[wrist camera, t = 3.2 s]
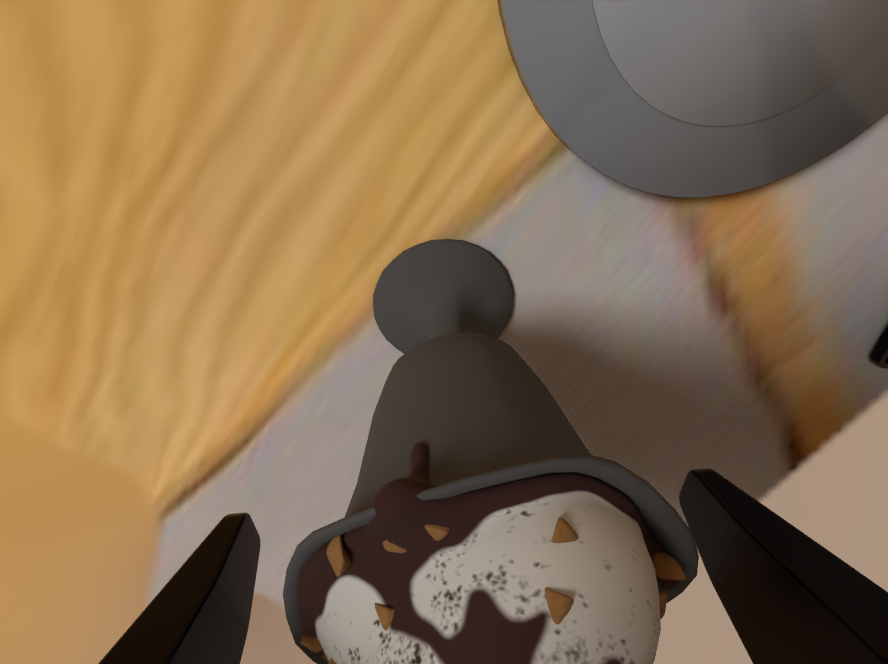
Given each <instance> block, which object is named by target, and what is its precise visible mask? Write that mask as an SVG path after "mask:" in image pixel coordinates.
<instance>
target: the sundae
mask: <svg viewBox="0 0 888 664" xmlns="http://www.w3.org/2000/svg"><path fill="white" fill-rule="evenodd" d="M512 306H513V290H512V285H511V281H510V279H509V277H508V274H507V272H506V270H505V268H504V267H503V266H502V265H501V264H500V262H499V261H498V260H497V259H496V258H495V257H494V256H493V255H491V254H490V253H489V252H488V251H487V250H485V249H483V248H480V247H478V246H476V245H474V244H471V243H468V242H465V241H462V240H449V239H444V240H431V241H428V242H424V243H421V244H418V245H416V246H414V247H411V248H409V249H407V250H405V251H403V252H402V253H401V254H400V255H398V256H397V257H396V258H395V259H394V260H392V262H391V263H390V264H389V265H388V266H387V267H386V268H385V269H384V270H383V272H382V274H381V276H380V278H379V280H378V282H377V285H376V288H375V291H374V294H373V308H374V316H375V320H376V322H377V324H378V326H379V329H380V330H381V332H382V334H383V335H384V337H385V338H386V340H387V341H389V342H390V343H391V344H392V345H393V346H394V347H395V348H397V349H398V350H400V351H401V352H403V353H404V355H403V356H402V357H400V358H399V359H398V360H397V362H396V363H395V364H394V365H393V367H392V370H391V372H390V374H389V376H388V378H387V380H386V382H385V385H384V388H383V390H382V393H381V396H380V398H379V401H378V404H377V406H376V409H375V412H374V415H373V419H372V423H371V427H370V431H369V436H368V440H367V444H366V448H365V452H364V456H363V461H362V465H361V469H360V473H359V477H358V482H357V485H356V488H355V490H354V493H353V496H352V499H351V501H350V504H349V507H348V510H347V512H346V515H345V518H343V519H341V520H338V521H336V522H334V523H331V524H329V525H327V526H325V527H322V528H320V529H318V530H316V531H313V532H312V533H311V534H310V535H309V536H307V537H306V538H305V539H304V540H303V541H302V542H301V543H300V544H299V545H297V547H296V550H295V552H294V554H293V556H292V558H291V560H290V563H289V565H288V568H287V571H286V578H285V584H284V591H283V598H284V605H285V611H286V618H287V621H288V624H289V627H290V630H291V632H292V635H293V638H294V641H295V644H296V645H297V646H298V647H299V648H300V649H302V651H303V652H304V653H305V654H306V655H307V656H308V657H309V658H311V659H312V661H314V662H316V663H317V664H653V662H654V659H655V655H656V650H657V645H658V640H659V635H660V630H661V629H660V628H661V627H660V619H661V618H662V617H663V616H664V614H665V608H666V603H667V602H669V601H671V600H672V599H674V598H675V597H676V596H678V595H679V594H681V593H682V592H683V591H684V590H685V589H686V587H687V586H688V585H689V584H690V583H691V582H692V580H693V579H694V578H695V577H696V576H697V567H698V558H699V556H698V552H697V548H696V544H695V540H694V536H693V533H692V532H691V530H690V529H689V528H688V526H687V525H686V524H685V522H684V521H683V520H682V518H681V517H680V516H679V514H678V513H677V512H676V510H675V509H674V508H673V507H672V506H671V505H670V504H669V503H668V502H667V501H666V500H665V499H664V498H663V497H662V496H661V495H660V494H659V493H658V492H657V491H656V490H655V489H654V488H653V487H652V486H651V485H650V484H649V483H648V482H647V481H646V480H644V479H642V478H641V477H639V476H638V475H636V474H634V473H633V472H631V471H629V470H628V469H626V468H625V467H623V466H621V465H620V464H618V463H617V462H614V461H611V460H607V459H603V458H600V457H596V456H593V455H591V454H590V453H589V452H588V450H587V449H586V447H585V446H584V444H583V443H582V441H581V440H580V438H579V437H578V435H577V433H576V432H575V430H574V429H573V427H572V426H571V424H570V423H569V421H568V420H567V418H566V417H565V415H564V413H563V412H562V410H561V409H560V407H559V406H558V404H557V403H556V401H555V400H554V398H553V397H552V395H551V393H550V392H549V390H548V389H547V387H546V386H545V385H544V384H543V383H542V381H541V380H540V379H539V378H538V377H537V376H536V374H535V373H534V372H533V371H532V370H531V368H530V367H529V366H528V365H527V364H526V363H525V361H524V360H523V359H522V358H521V357H520V356H519V354H518V353H517V352H516V351H515V350H514V349H513V348H512V347H511V346H510V345H508V344H507V343H505V342H504V341H502V340H499V339H497V338H498V337H499V335H500V334H501V333H502V331H503V330H504V328H505V326H506V324H507V322H508V320H509V318H510V316H511V311H512Z"/></svg>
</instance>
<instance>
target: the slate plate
mask: <svg viewBox="0 0 888 664" xmlns="http://www.w3.org/2000/svg"><path fill="white" fill-rule="evenodd" d="M498 6H499V13H500V17H501V21H502V25H503V29H504V33H505V37H506V41H507V45H508V49H509V52H510V54H511V57H512V60H513V62H514V65H515V67H516V70H517V73H518V75H519V78H520V81H521V83H522V85H523V87H524V88H525V90H526V92H527V94H528V96H529V98H530V100H531V101H532V103H533V105H534V107H535V109H536V110H537V112H538V113H539V114H540V116H541V117H542V119H543V120H544V121H545V123H546V124H547V125H548V127H549V128H550V129H551V131H552V132H553V133H554V134H555V135H556V136H557V137H558V138H559V139H560V140H561V141H562V142H563V143H564V144H565V145H566V146H567V147H568V148H569V149H570V150H571V151H572V152H573V153H574V154H575V155H577V156H578V157H580V158H581V159H582V160H584V161H585V162H586V163H588V164H589V165H591V166H592V167H593V168H595V169H596V170H598V171H600V172H601V173H603V174H604V175H606V176H608V177H610V178H612V179H614V180H616V181H618V182H620V183H622V184H624V185H626V186H629V187H632V188H636V189H639V190H642V191H645V192H648V193H652V194H659V195H665V196H672V197H711V196H719V195H726V194H733V193H736V192H740V191H744V190H748V189H752V188H756V187H760V186H763V185H765V184H768V183H771V182H773V181H776V180H779V179H781V178H784V177H787V176H789V175H791V174H793V173H795V172H797V171H799V170H801V169H803V168H805V167H807V166H809V165H811V164H814V163H816V162H818V161H819V160H821V159H823V158H824V157H826V156H827V155H829V154H831V153H832V152H834V151H836V150H837V149H839V148H841V147H842V146H844V145H846V144H847V143H849V142H850V141H851V140H853V139H854V138H855V137H857V136H858V135H860V134H861V133H862V132H864V131H865V130H866V129H868V128H869V127H871V126H872V125H873V124H875V123H876V122H877V121H879V120H880V119H881V118H882V117H883V116H884V115H886V114H887V113H888V0H498Z"/></svg>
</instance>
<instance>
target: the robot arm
mask: <svg viewBox="0 0 888 664" xmlns="http://www.w3.org/2000/svg"><path fill="white" fill-rule="evenodd" d="M870 358H871V361H872V362H874V363H875V364H877V365H878V366H880V367H881V368H888V328H887V330H886V332H885V333H884V335H883V336H882V338H881V340H880V341H879V343H878V345H877V346H876V348H875V350H874V351H873V353H872V355H871V357H870ZM679 501H680V505H681V508H682V511H683V513H684V516H685V518H686V521H687V523H688V526H689V528H690V530H691V532H692V533H693V536H694V540H695V543H696V546H697V548H698V551H699V553H700V556H701V558H702V561H703V563H704V566H705V568H706V571H707V573H708V575H709V577H710V580H711V582H712V584H713V586H714V588H715V590H716V592H717V594H718V596H719V598H720V600H721V602H722V604H723V606H724V608H725V609H726V611H727V613H728V615H729V617H730V619H731V621H732V623H733V625H734V627H735V629H736V631H737V633H738V635H739V637H740V639H741V641H742V643H743V645H744V647H745V648H746V650H747V652H748V654H749V656H750V658H751V660H752V662H753V664H888V592H886V591H885V590H884V589H882V588H881V587H879V586H878V585H876V584H875V583H873V582H872V581H871V580H869V579H868V578H867V577H865V576H863V575H862V574H861V573H859V572H858V571H857V570H855V569H854V568H852V567H851V566H849V565H848V564H847V563H845V562H844V561H842V560H841V559H839V558H838V557H837V556H835V555H834V554H832V553H831V552H829V551H828V550H827V549H825V548H824V547H822V546H821V545H820V544H818V543H817V542H815V541H814V540H812V539H811V538H810V537H808V536H807V535H805V534H804V533H802V532H801V531H799V530H798V529H797V528H795V527H794V526H792V525H791V524H790V523H788V522H787V521H785V520H784V519H782V518H781V517H780V516H778V515H777V514H775V513H774V512H772V511H771V510H770V509H768V508H767V507H765V506H764V505H763V504H761V503H760V502H758V501H757V500H755V499H754V498H753V497H751V496H750V495H748V494H747V493H745V492H744V491H743V490H741V489H740V488H738V487H737V486H735V485H734V484H733V483H731V482H730V481H728V480H727V479H725V478H724V477H723V476H721V475H720V474H718V473H717V472H715V471H714V470H711V469H695V470H691V471H689V472H688V474H687V476H686V479H685V481H684V484H683V486H682V489H681V491H680V495H679ZM259 552H260V537H259V534H258V532H257V529H256V527H255V525H254V523H253V521H252V519H251V517H250V515H249V514H248V513H236V514H229V515H227V516H225V517H224V518H223V519H222V520H221V521H220V522H219V523H218V524H217V526H216V527H215V528H214V529H213V530H212V531H211V533H210V534H209V535H208V536H207V537H206V538H205V540H204V541H203V542H202V543H201V544H200V545H199V547H198V548H197V549H196V550H195V551H194V552H193V554H192V555H191V556H190V557H189V558H188V559H187V561H186V562H185V563H184V564H183V565H182V567H181V568H180V569H179V570H178V571H177V572H176V574H175V575H174V576H173V577H172V578H171V579H170V581H169V582H168V583H167V584H166V585H165V586H164V588H163V589H162V590H161V591H160V592H159V593H158V595H157V596H156V597H155V598H154V599H153V600H152V602H151V603H150V604H149V605H148V606H147V607H146V609H145V610H144V611H143V612H142V613H141V614H140V616H139V617H138V618H137V619H136V620H135V622H134V623H133V624H132V625H131V626H130V627H129V629H128V630H127V631H126V632H125V633H124V634H123V636H122V637H121V638H120V639H119V640H118V642H117V643H116V644H115V645H114V646H113V647H112V648H111V650H110V651H109V652H108V653H107V654H106V655H105V657H104V658H103V659H102V660H101V661H100V663H99V664H240V661H241V657H242V653H243V649H244V645H245V640H246V636H247V632H248V626H249V620H250V614H251V607H252V600H253V593H254V586H255V580H256V573H257V566H258V559H259Z"/></svg>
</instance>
